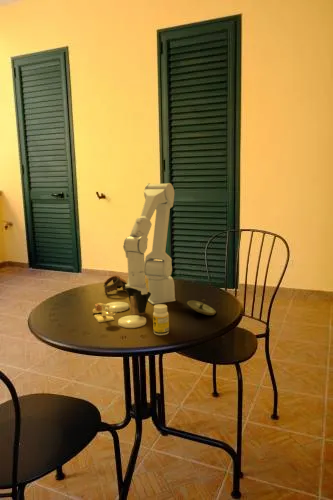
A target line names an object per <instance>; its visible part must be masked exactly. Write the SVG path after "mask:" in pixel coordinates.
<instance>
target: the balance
mask: <svg viewBox="0 0 333 500" xmlns="http://www.w3.org/2000/svg"><path fill="white" fill-rule="evenodd" d="M106 304H107V303H101V302H98V303H96V304H94V308H93V309H92V313H93V314H94V318H95V320H96V321H97V322H98V323H104V322H110V321H114V320H115V319H114V317H113V316H114V315H117V312H116V311H114V310H109V307H110V305H106ZM105 307H107V308H108V310H106V311H105Z"/></svg>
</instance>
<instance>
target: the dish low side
mask: <svg viewBox="0 0 333 500" xmlns="http://www.w3.org/2000/svg"><path fill="white" fill-rule="evenodd" d="M105 304H106V305H110V307H109V310H114V311H116V313H122V312H125V311H127V310H129V309H130V303H128V302H125V301H111V302H108V303H105ZM106 310H108V308H107V307H105V311H106Z"/></svg>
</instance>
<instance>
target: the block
mask: <svg viewBox="0 0 333 500" xmlns="http://www.w3.org/2000/svg"><path fill="white" fill-rule="evenodd" d="M129 308H130V313H131V315H138V316H144V315H146V310H145V312H144V313H139V312H138V308H137V302H136V299H135V297H134V296H130V301H129Z"/></svg>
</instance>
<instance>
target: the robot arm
mask: <svg viewBox="0 0 333 500" xmlns="http://www.w3.org/2000/svg"><path fill="white" fill-rule="evenodd" d="M143 196H144V203H143V207H142V211H141V215H140V217H137V218H136V219H135V222H134V224H133V227H132V229H131V231H130V234H129V235H128V237H125V238H124V241H123V246H122V247H123V250H124V252H125V253H124V254H125V258H126V259H127V279H126V283H127V284H126V285H125V290H124V291H125V292H126V294H127V297H128V301H129V302H130V296H134V297H135V299H136V302H137V308H138V312H139V313H144V312H145V311H146V309H147V305H148V303H150V304H151V305H157V304H166V303H172V302H176V297H175V296H176V294H175V288H176V287H175V280H174V278H173V277H172V276H171V275H172V272H173V266H172V261H173V259H172V257H171V256H170V255H169V254H168V253H167V252H166V251H167V250H166V248H167V239H168V228H169V222H170V211H171V210H170V209H171V208H173V207H174V202H175V189H174V186H173V184H172V183H170V182H168V183H149V182H148V183H147V184H146V185H145V186H144V191H143ZM155 211H156V212H155ZM154 213H155V220H154V227H153V229H154V230H153V239H152V249H151V252H149V253H148V254H146V255H145V253H146V251H147V249H148V242H149V238H148V236H149V234H150V230H151V228H152V222H151V220H152V217H153V215H154ZM146 279H147V280H148V287H147V284H146V283H147V282H146Z"/></svg>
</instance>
